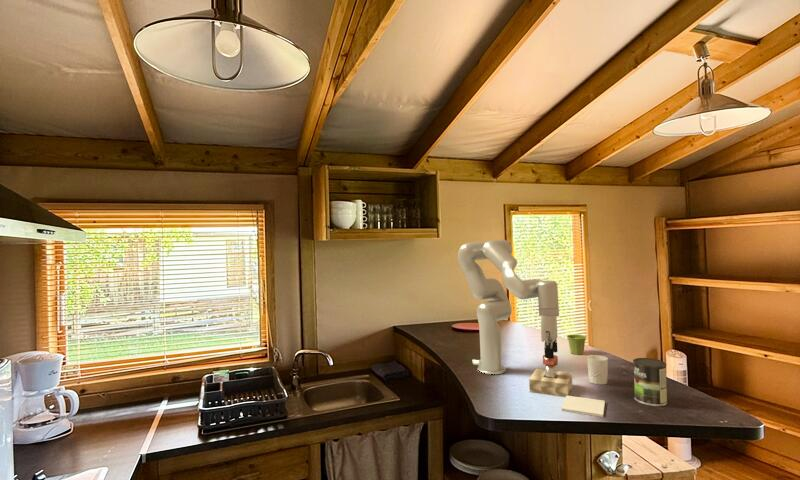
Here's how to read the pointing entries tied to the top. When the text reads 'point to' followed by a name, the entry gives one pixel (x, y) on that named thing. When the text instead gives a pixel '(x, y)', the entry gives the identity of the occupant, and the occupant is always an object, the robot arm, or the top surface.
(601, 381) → the white cup
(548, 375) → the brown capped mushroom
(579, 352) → the plant pot
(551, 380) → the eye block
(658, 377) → the coffee can
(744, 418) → the top surface
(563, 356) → the top surface
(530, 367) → the top surface
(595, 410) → the pad
